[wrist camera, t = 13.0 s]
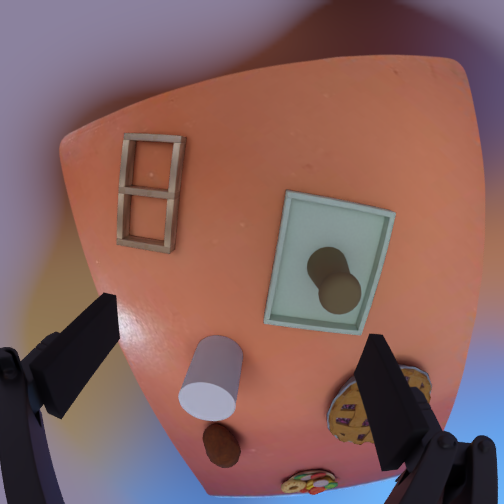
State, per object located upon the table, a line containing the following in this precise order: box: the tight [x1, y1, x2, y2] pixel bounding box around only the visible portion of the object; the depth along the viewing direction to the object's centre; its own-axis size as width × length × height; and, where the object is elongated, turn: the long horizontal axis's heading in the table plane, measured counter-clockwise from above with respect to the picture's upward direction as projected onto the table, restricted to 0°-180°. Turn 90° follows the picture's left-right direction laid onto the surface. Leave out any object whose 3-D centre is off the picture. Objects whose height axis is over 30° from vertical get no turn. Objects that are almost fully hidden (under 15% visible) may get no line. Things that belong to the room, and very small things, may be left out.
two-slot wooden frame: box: [117, 133, 186, 254], centre depth 41 cm, size 17×9×2 cm, turn 172°
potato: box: [203, 424, 241, 468], centre depth 53 cm, size 8×12×8 cm, turn 19°
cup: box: [179, 335, 243, 421], centre depth 44 cm, size 8×8×12 cm
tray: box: [264, 190, 396, 335], centre depth 43 cm, size 20×16×3 cm
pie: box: [327, 365, 432, 445], centre depth 49 cm, size 22×22×5 cm
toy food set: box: [281, 470, 338, 495], centre depth 60 cm, size 13×13×3 cm
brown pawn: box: [307, 247, 362, 315], centre depth 38 cm, size 6×6×11 cm
